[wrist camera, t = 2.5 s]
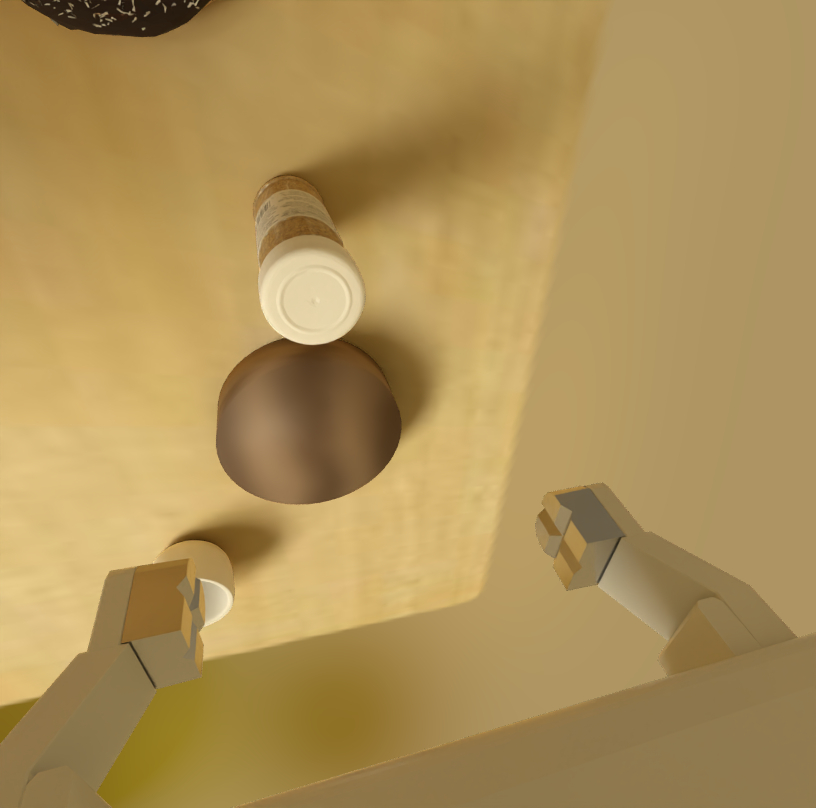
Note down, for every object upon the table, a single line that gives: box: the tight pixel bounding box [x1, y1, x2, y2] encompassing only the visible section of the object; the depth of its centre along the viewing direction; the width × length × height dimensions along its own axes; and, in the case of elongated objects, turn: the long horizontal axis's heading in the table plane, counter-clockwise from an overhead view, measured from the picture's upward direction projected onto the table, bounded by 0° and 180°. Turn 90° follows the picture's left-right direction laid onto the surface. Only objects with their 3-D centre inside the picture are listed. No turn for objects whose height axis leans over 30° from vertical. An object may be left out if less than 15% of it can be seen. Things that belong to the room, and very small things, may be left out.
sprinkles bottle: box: [253, 175, 366, 345], centre depth 26 cm, size 5×5×13 cm
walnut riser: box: [216, 338, 401, 504], centre depth 39 cm, size 14×14×4 cm
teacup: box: [152, 540, 235, 627], centre depth 46 cm, size 10×8×5 cm
